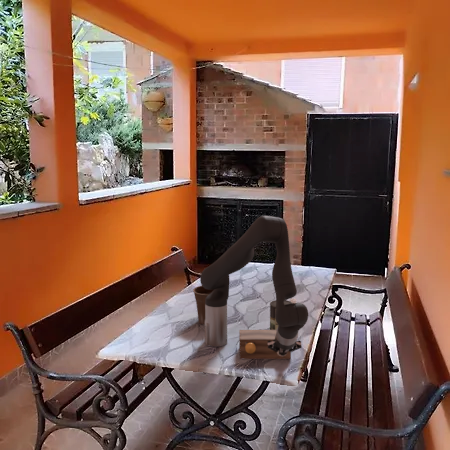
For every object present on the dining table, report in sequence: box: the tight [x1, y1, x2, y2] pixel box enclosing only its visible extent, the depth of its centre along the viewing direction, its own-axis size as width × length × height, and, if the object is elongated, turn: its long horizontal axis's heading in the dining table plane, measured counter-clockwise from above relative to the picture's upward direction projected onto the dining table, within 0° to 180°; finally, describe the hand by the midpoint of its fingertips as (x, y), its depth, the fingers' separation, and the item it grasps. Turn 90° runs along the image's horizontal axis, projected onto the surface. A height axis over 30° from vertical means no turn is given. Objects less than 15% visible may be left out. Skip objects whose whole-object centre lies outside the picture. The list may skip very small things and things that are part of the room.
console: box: [238, 329, 292, 360], centre depth 194 cm, size 10×20×8 cm, turn 90°
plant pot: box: [192, 285, 214, 326], centre depth 229 cm, size 16×16×16 cm
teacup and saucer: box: [289, 298, 297, 303], centre depth 252 cm, size 9×8×4 cm
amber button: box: [245, 342, 256, 354], centre depth 191 cm, size 6×4×4 cm, turn 0°
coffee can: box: [269, 299, 292, 330], centre depth 214 cm, size 10×10×14 cm
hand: (282, 353), depth 183 cm, fingers closed
